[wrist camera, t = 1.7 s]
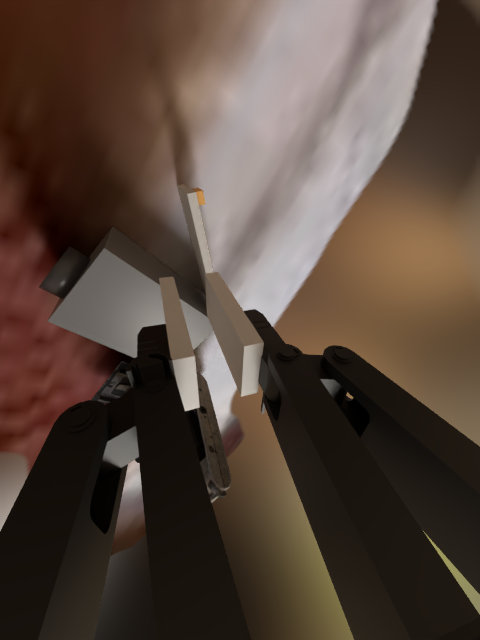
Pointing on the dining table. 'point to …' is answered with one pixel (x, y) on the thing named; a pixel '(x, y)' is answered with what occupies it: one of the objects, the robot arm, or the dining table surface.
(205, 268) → the side door
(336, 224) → the dining table surface
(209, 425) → the vintage camera
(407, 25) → the dining table surface
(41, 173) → the dining table surface
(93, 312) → the cabinet with round knob
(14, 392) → the dining table surface
